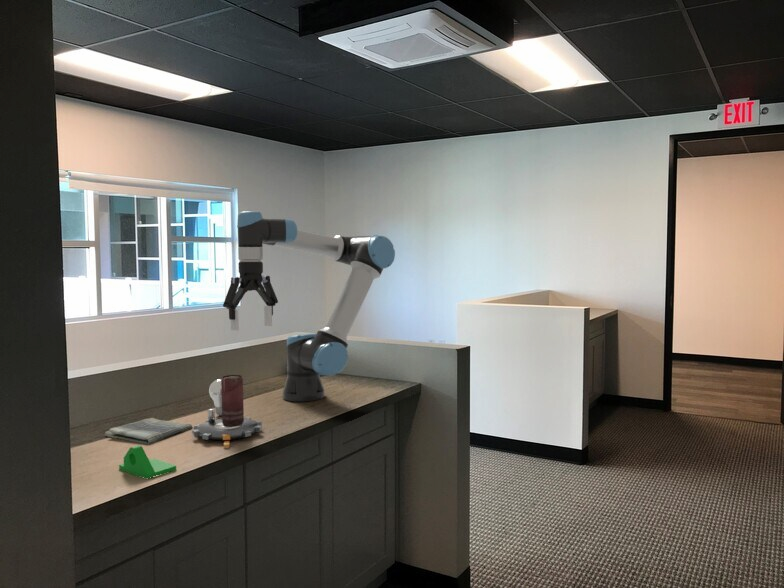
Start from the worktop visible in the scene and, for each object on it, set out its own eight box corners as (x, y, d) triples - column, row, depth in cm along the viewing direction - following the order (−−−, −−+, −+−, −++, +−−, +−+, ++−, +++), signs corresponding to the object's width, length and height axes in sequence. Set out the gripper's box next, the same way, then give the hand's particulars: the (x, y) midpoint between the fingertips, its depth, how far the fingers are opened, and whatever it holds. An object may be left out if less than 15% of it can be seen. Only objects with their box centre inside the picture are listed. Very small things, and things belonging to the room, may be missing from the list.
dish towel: (194, 429, 187) (194, 419, 186) (148, 446, 170) (148, 435, 170) (149, 423, 194) (148, 412, 194) (100, 438, 178) (100, 427, 178)
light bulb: (208, 414, 202) (207, 378, 201) (230, 412, 205) (229, 376, 204) (211, 419, 196) (210, 382, 195) (233, 417, 198) (232, 380, 198)
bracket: (176, 471, 150) (175, 443, 150) (147, 481, 144) (146, 452, 143) (148, 461, 157) (147, 435, 157) (119, 470, 151) (118, 443, 151)
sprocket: (209, 420, 190) (209, 404, 190) (271, 421, 188) (271, 406, 188) (180, 438, 171) (179, 422, 171) (248, 441, 169) (248, 424, 168)
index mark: (224, 445, 170) (224, 441, 169) (229, 444, 170) (229, 441, 170) (223, 448, 167) (223, 444, 167) (229, 447, 167) (229, 444, 167)
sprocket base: (247, 426, 187) (247, 423, 187) (251, 438, 176) (251, 434, 176) (205, 430, 183) (205, 427, 183) (206, 442, 172) (206, 438, 172)
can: (217, 425, 179) (216, 377, 178) (230, 420, 185) (229, 373, 184) (235, 427, 177) (234, 379, 176) (247, 421, 183) (246, 375, 182)
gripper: (272, 260, 207) (273, 323, 209) (210, 261, 187) (211, 331, 189) (288, 260, 203) (289, 324, 204) (226, 261, 183) (227, 332, 184)
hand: (252, 328), depth 197 cm, fingers open, 13 cm apart
